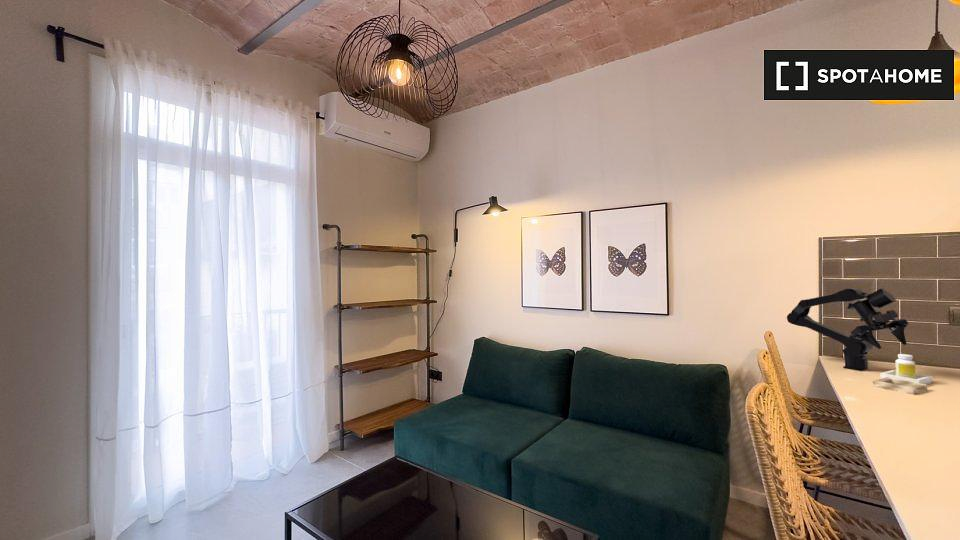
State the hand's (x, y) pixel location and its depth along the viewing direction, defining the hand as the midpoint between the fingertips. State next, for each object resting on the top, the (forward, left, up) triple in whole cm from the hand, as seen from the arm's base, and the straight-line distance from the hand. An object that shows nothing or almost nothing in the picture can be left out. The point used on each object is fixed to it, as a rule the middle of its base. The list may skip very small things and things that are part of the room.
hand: (892, 346), depth 161 cm
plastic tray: (+5, -3, -13) cm, 14 cm away
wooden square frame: (+8, -17, -13) cm, 23 cm away
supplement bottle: (+5, -3, -12) cm, 13 cm away
